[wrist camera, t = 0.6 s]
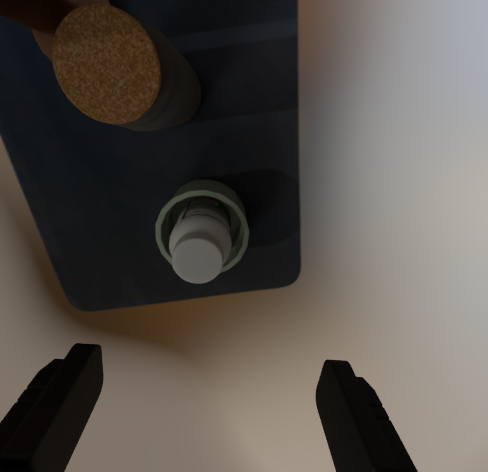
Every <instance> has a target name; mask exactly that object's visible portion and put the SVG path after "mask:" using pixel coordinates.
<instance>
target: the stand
mask: <svg viewBox="0 0 488 472" xmlns="http://www.w3.org/2000/svg"><path fill="white" fill-rule="evenodd" d="M99 3H100V4H106V5H110V6H113V4H112V2H111V1H110V0H0V15H2V16H5V17H7V18H9V19H12V20H14V21H16V22H18V23H21V24H23V25H25V26H28V27H30V28H31V29H32V32H33V35H34V37H35V39H36V41H37V43H38V45H39V46H40V48H41V49H42V51H43V52H44V53H45V55H46V56H47V57H48V58H49V59H50V60H51V61H53V60H52V45H53V40H54V35H55V33H56V30H57V28H58V26H59V24H60V23H61V21H62V20H63V19H64V18H65V17H66V16H67V14H69V13H70V12H71V11H72V10H74V9H76V8H78V7H80V6H83V5H88V4H99ZM113 7H114V6H113Z"/></svg>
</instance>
